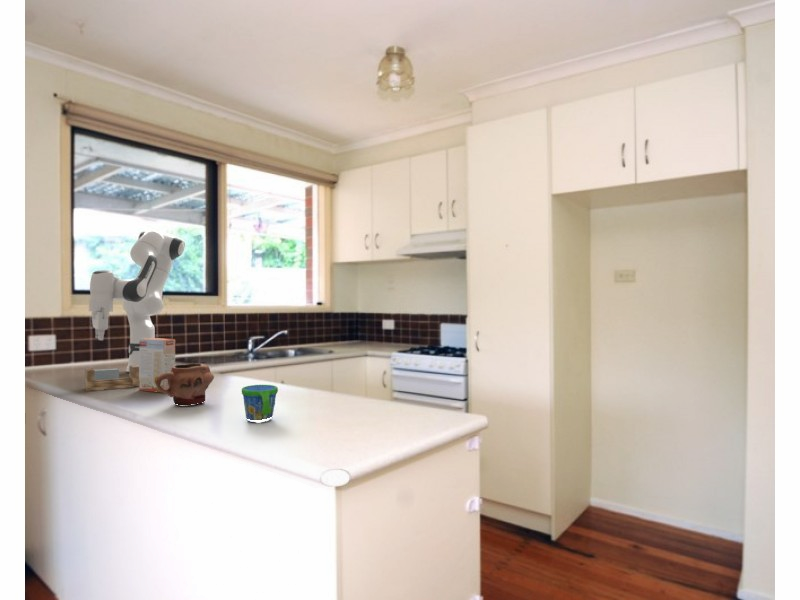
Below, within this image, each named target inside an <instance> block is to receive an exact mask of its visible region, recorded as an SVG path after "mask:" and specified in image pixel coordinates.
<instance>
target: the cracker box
mask: <svg viewBox="0 0 800 600" xmlns="http://www.w3.org/2000/svg"><path fill="white" fill-rule="evenodd" d="M173 366H176V339H174V338H161V337H160V338H159V337H155V338H143V339H140V348H139V387H138V391H142V390H146V392H152V391H157V392H156V393H159V392H161V391H160V390H159V389H158V388H157V386H156V380H157V378H158V377H159V376H160V375H161V374H164V373H169V372H171V369H172V367H173ZM160 386H161V388H162V389H164V390H168V389H169V385H168V379H164V380H162V381H161V384H160Z"/></svg>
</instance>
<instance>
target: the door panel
mask: <svg viewBox="0 0 800 600" xmlns="http://www.w3.org/2000/svg"><path fill="white" fill-rule="evenodd" d="M94 370H95V376H94V381H95V380H107V379H119V378H120V368H118V367H117V368H104V369H94Z"/></svg>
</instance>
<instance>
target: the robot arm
mask: <svg viewBox="0 0 800 600" xmlns="http://www.w3.org/2000/svg"><path fill="white" fill-rule="evenodd" d="M185 246H186V245H185V241H184V239H183V238H181V237H179V236H174V235H172V234H170V233H166V232H161V231H157V230H155V229H144V230H143V231H141V232H140V234H139V235H138V238H137V240H136V242H135V243H134V244H133V246H131V247H132V248H131V249H130V251H129V253H130V257H131V259H132V261H133V262H134V264H135V265H138V266H139V267H140V269H139V271H138V273H137V275H136V276H135V277H134V278H130V279H125V278H124V279H123V278H119V277H118V276H116V275H115V274H114V272H113V270H107V269H106V270H105V269H103V270H102V269H101V270H95V271H94V272H92V274H91V277H90V282H89V292H90V296H89V300H88V311H89V312H91V320H92V321H91V322H92V328H94V329H95V331H94V333H95V339H97V340H98V341H104V339H105V338H104V337H105V336H104V335H105V331H106V330H108V328H109V316H110V313H111V312H113V311H114V301H121V302H122V308H123V310H124V311H125V314H126V316H127V320H128V324H129V343H128V354H129V357H128V364H127V367H126V370H125V371H126V373H127V372H128V373H130V365H137V366H139V348H140V339H143V338H156V336H155V335H156V334H155V333H156V331H155V330H156V329H155V328H156V327H155V325H154V324H153V322H152V319H151V316H154V315H159V314H160V313H161V312H162V311H163V309H164V301H163V291H164V287H165V285H166V282H167V280H168V277H169V275H170V272H171V271H172V266H173V261H174V260H175V259H178V258H179V257H180V256H182V254H183V253H184V251H185Z"/></svg>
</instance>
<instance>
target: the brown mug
mask: <svg viewBox="0 0 800 600" xmlns="http://www.w3.org/2000/svg"><path fill="white" fill-rule="evenodd" d="M164 379H168V385H169V389H168V390H164V389H162V388H161V386H160V384H161V381H162V380H164ZM214 379H215V375H214V374H213V373H212V372H211V369H210V367H209V366H208V365H207V364H204V363H188V364H178V365H177V364H175V366H173V367H172V369H171V372H169V373H164V374H161V375H160V376H159V377H158V378H157V380H156V386H157V388H158V389H159V390H160V391H161V392H163V393H162V394H164V395H166V396H168V397H170V398H173V399H172V400H173V404H174V403H175V404H178V405H191V404H197V403H202V402H204V401H205V402H206V391H207V389H208V388H209V385H210V384H212V382H213V380H214ZM205 402H204V403H205ZM175 404H174V405H175ZM202 404H203V403H202Z"/></svg>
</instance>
